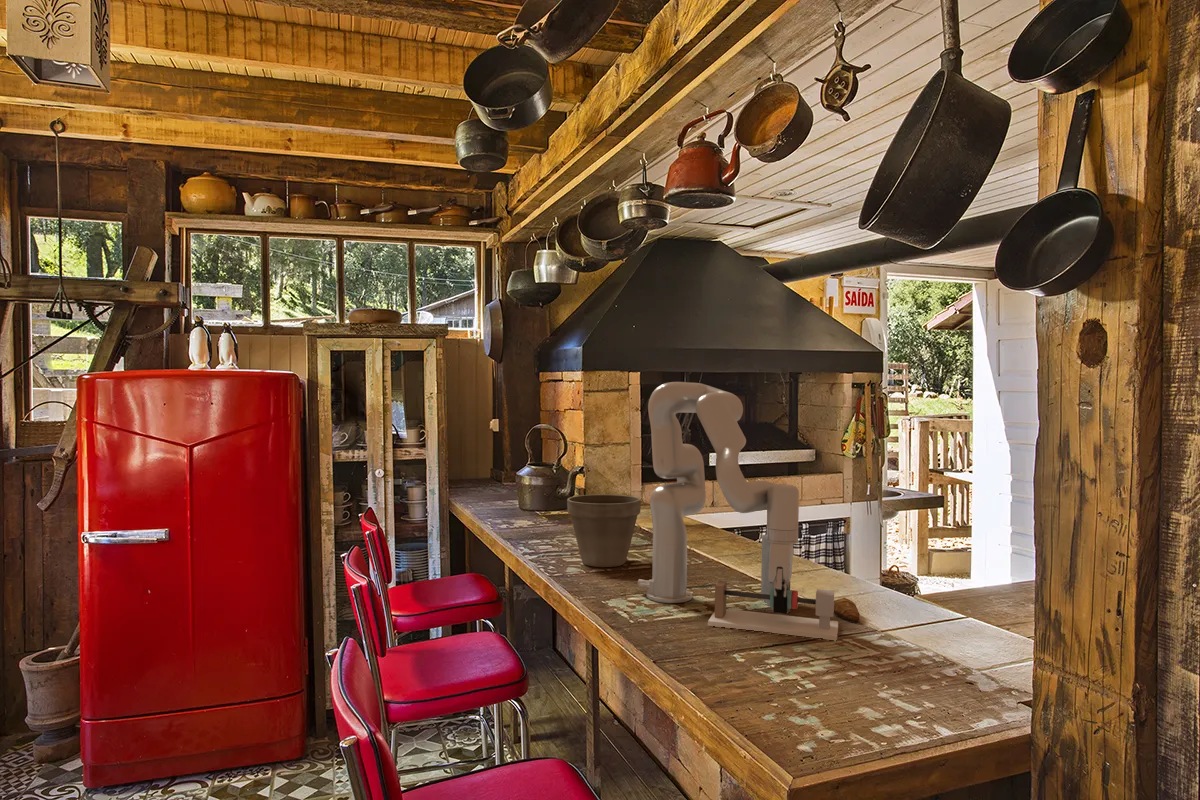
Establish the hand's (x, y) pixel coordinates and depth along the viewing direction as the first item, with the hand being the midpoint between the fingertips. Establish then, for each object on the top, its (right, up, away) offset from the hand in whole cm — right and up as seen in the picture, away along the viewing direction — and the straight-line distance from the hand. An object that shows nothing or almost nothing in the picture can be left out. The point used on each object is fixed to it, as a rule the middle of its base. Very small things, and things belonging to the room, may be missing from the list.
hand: (781, 609), depth 178 cm
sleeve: (0, +1, 0) cm, 1 cm away
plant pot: (-43, -4, +66) cm, 79 cm away
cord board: (-2, -4, +1) cm, 5 cm away
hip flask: (+3, -4, +19) cm, 20 cm away
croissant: (+19, -5, +10) cm, 22 cm away
